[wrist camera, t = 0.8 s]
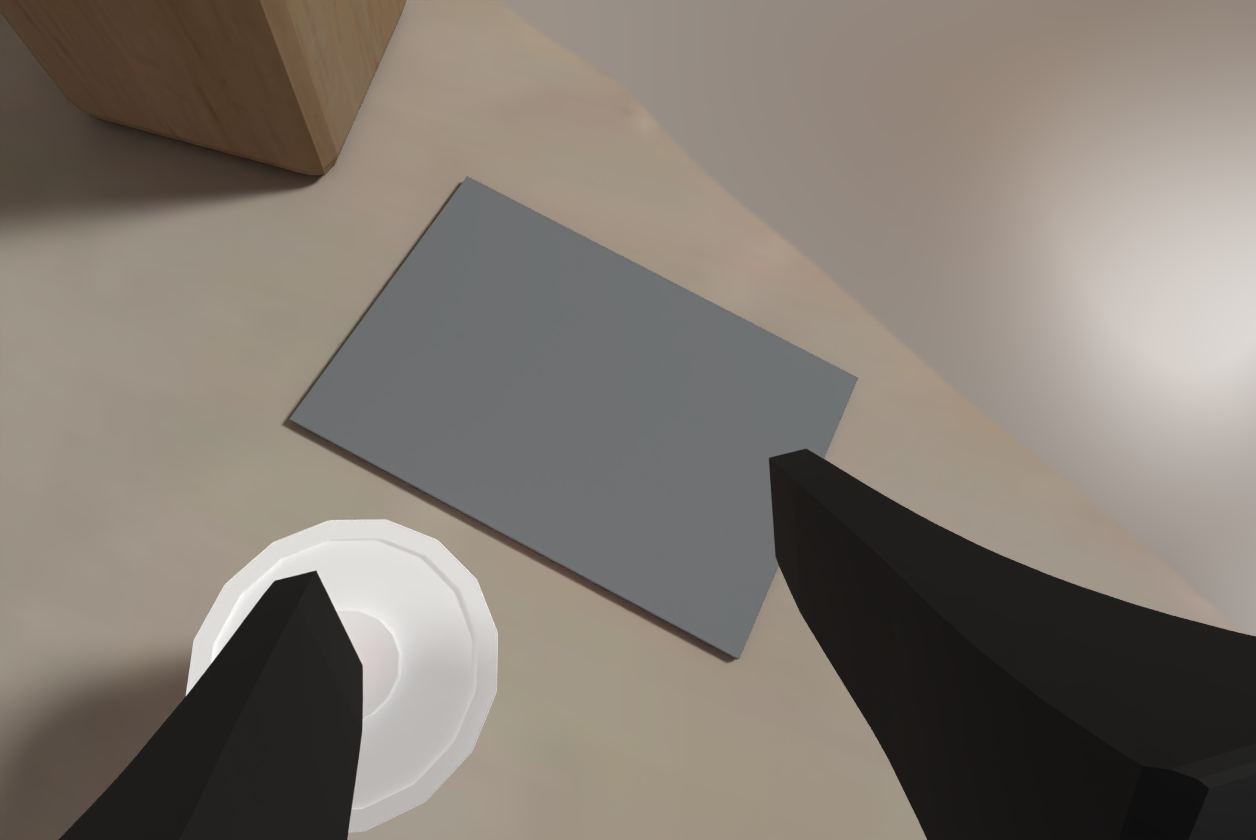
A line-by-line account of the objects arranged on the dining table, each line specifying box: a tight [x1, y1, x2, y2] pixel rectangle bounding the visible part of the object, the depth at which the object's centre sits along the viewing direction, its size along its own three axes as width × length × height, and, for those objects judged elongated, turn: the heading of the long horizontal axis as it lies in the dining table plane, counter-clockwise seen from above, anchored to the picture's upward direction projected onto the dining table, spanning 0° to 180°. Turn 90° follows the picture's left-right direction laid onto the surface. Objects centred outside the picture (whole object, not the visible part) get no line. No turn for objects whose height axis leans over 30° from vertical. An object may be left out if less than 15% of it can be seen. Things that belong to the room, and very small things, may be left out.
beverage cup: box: [186, 520, 498, 832], centre depth 17 cm, size 6×6×14 cm
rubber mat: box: [290, 176, 858, 659], centre depth 28 cm, size 12×17×1 cm
